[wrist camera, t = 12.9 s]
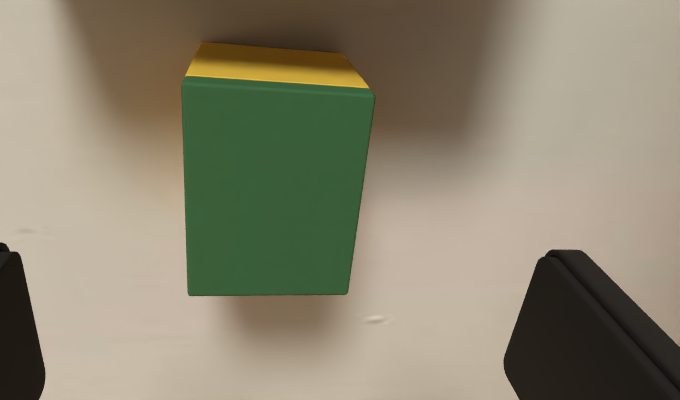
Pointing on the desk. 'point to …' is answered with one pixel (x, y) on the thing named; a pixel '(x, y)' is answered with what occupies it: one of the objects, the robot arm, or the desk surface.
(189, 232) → the sponge
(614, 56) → the desk surface
